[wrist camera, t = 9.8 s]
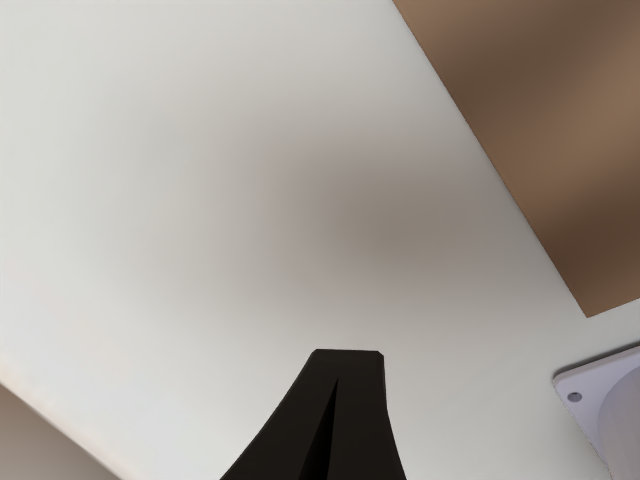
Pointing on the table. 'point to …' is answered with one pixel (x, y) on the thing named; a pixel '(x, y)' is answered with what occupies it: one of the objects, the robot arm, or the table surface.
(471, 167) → the table surface
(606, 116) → the valve board
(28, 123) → the table surface
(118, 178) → the table surface
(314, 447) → the robot arm
